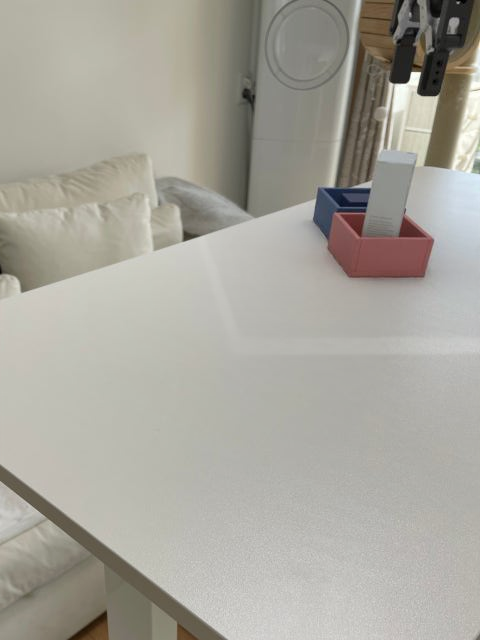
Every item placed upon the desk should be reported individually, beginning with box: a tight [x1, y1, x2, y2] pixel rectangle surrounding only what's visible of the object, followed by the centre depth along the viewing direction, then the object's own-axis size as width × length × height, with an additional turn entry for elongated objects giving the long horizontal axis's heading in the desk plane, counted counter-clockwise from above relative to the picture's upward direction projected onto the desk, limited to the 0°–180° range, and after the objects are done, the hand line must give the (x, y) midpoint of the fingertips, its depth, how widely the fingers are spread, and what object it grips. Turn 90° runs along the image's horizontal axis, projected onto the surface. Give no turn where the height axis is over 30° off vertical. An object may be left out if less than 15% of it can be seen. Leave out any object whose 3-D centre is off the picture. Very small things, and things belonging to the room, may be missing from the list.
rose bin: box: [326, 213, 435, 278], centre depth 80 cm, size 9×10×5 cm
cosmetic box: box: [361, 148, 419, 237], centre depth 77 cm, size 6×4×12 cm
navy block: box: [339, 193, 370, 207], centre depth 89 cm, size 4×4×4 cm
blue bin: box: [312, 186, 407, 241], centre depth 89 cm, size 9×10×5 cm
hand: (412, 89), depth 70 cm, fingers open, 8 cm apart
